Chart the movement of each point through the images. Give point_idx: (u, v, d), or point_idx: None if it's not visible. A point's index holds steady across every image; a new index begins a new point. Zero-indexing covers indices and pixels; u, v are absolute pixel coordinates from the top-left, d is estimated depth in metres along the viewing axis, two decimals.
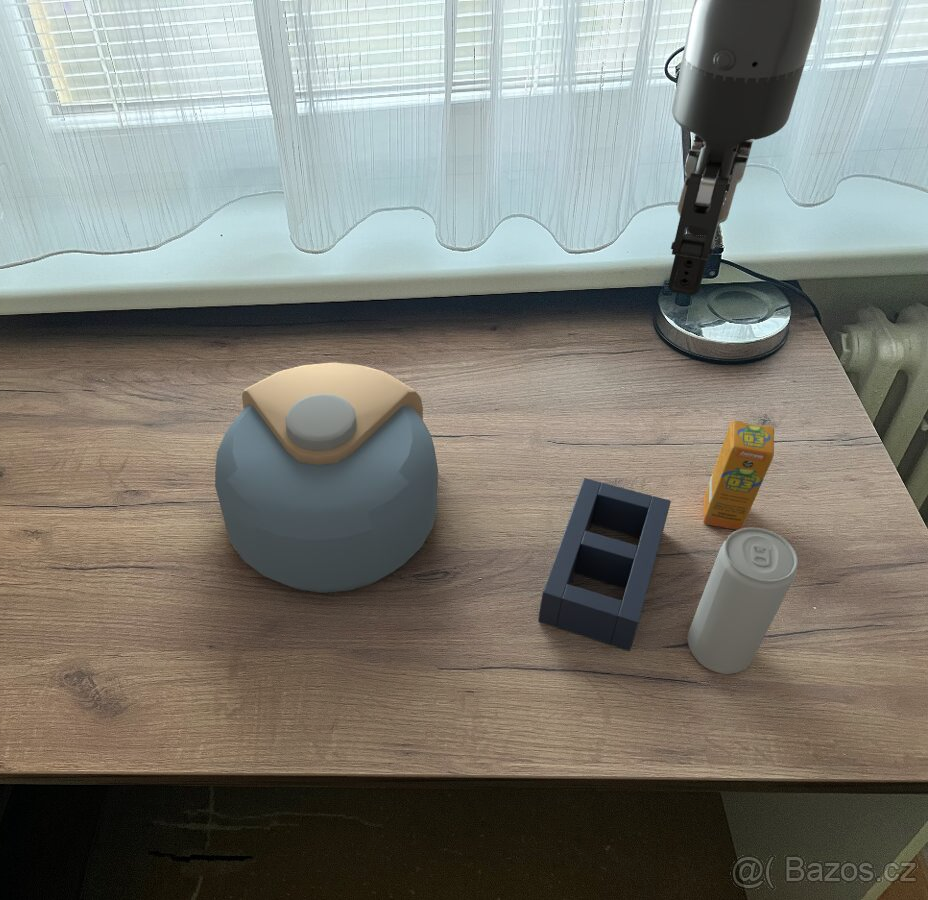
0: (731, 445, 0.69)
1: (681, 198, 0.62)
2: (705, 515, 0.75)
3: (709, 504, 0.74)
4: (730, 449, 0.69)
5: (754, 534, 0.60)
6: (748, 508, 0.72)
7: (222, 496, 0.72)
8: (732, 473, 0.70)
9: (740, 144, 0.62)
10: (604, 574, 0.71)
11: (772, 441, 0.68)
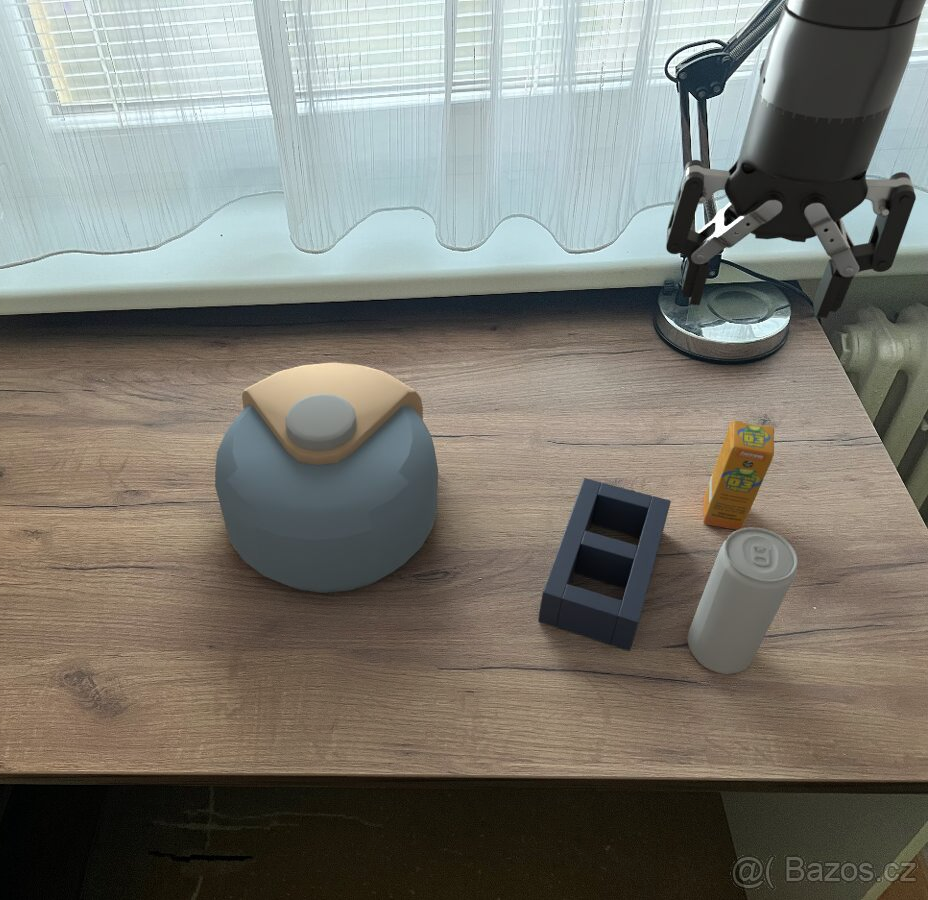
0: (731, 445, 0.69)
1: (727, 204, 0.61)
2: (705, 515, 0.75)
3: (709, 504, 0.74)
4: (730, 449, 0.69)
5: (754, 534, 0.60)
6: (748, 508, 0.72)
7: (222, 496, 0.72)
8: (732, 473, 0.70)
9: (808, 198, 0.57)
10: (604, 574, 0.71)
11: (772, 441, 0.68)
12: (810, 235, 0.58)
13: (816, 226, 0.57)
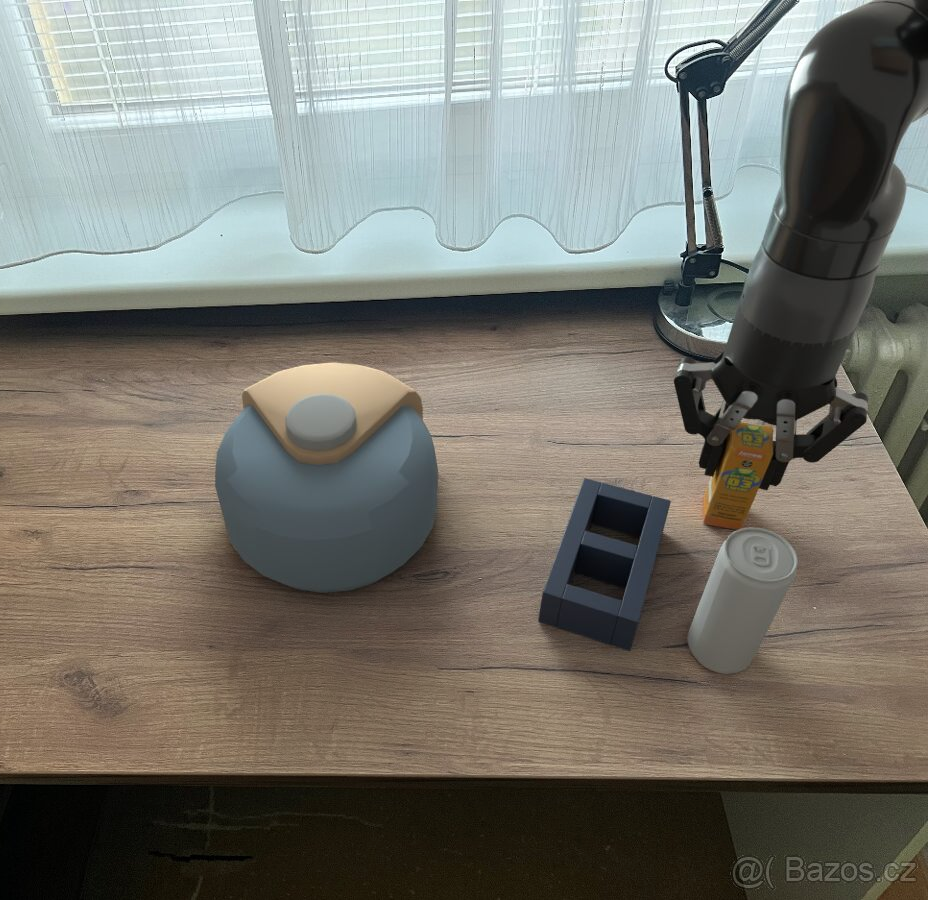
0: (730, 445, 0.69)
1: None
2: (705, 515, 0.75)
3: (709, 504, 0.74)
4: (729, 449, 0.69)
5: (754, 534, 0.60)
6: (748, 508, 0.72)
7: (222, 496, 0.72)
8: (731, 473, 0.70)
9: (781, 393, 0.64)
10: (604, 574, 0.71)
11: (771, 441, 0.68)
12: None
13: (780, 416, 0.65)
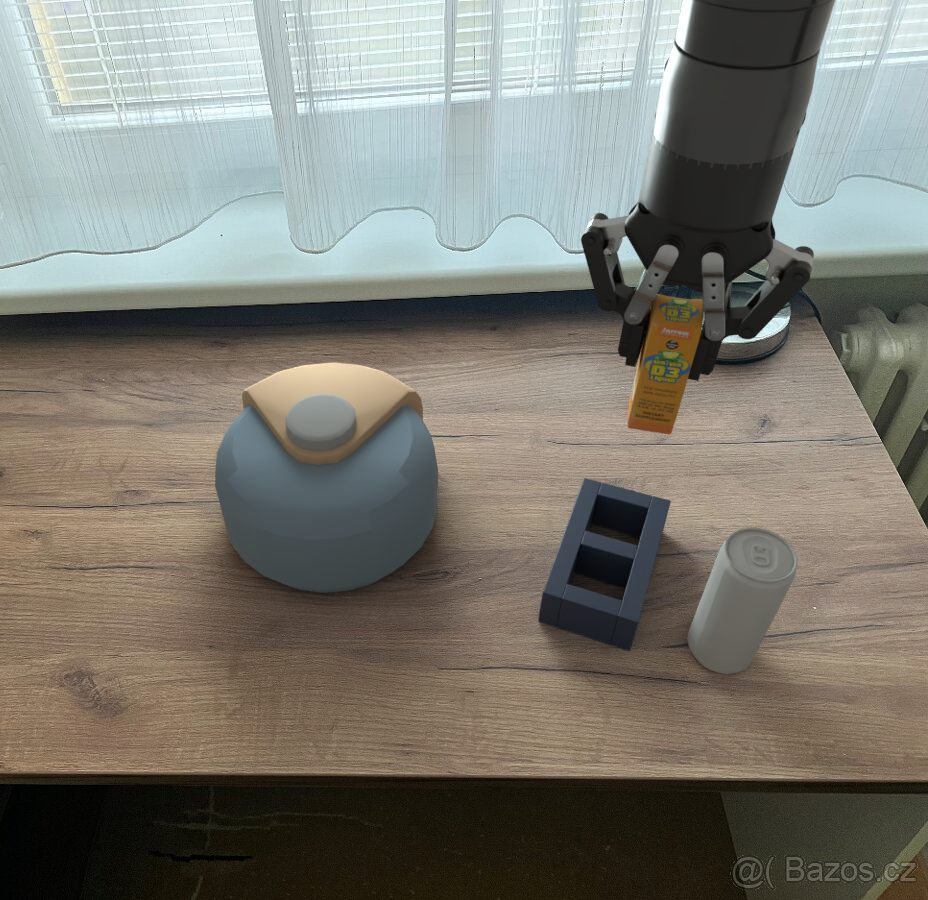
0: (651, 321, 0.57)
1: None
2: (629, 417, 0.63)
3: (632, 402, 0.62)
4: (650, 326, 0.57)
5: (754, 534, 0.60)
6: (677, 404, 0.61)
7: (222, 496, 0.72)
8: (654, 358, 0.58)
9: (707, 246, 0.52)
10: (604, 574, 0.71)
11: (700, 315, 0.56)
12: None
13: (706, 277, 0.53)
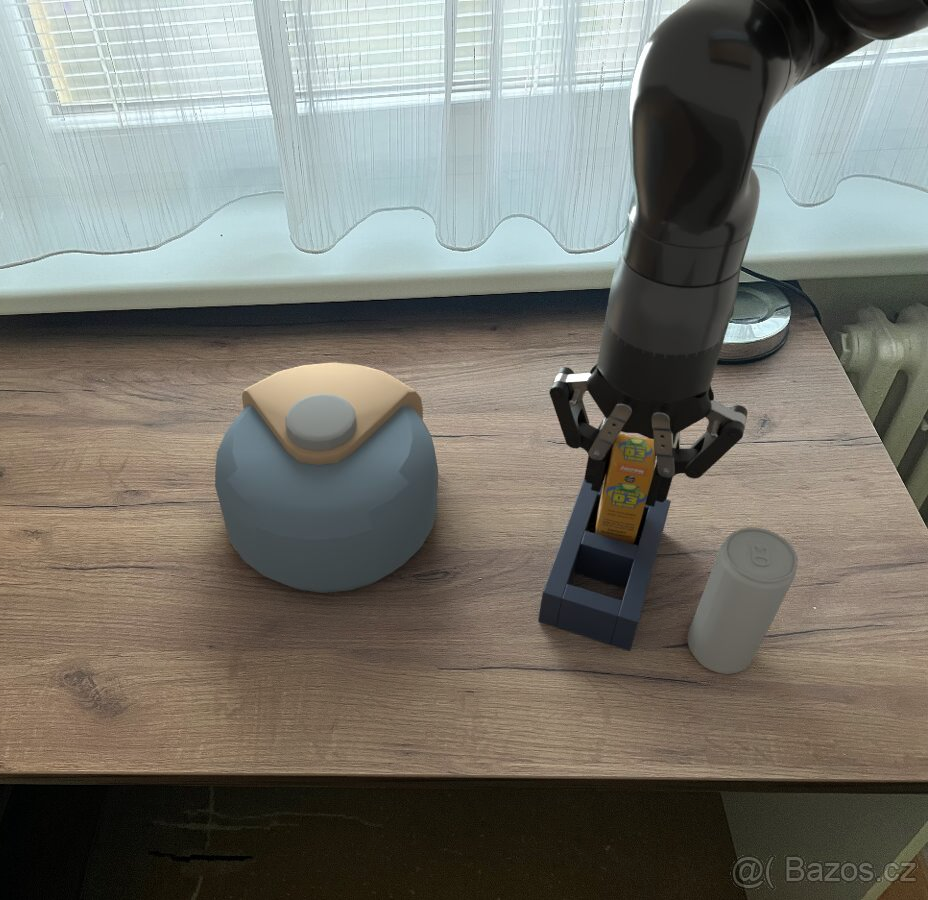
0: (611, 459, 0.66)
1: None
2: (595, 532, 0.72)
3: (598, 520, 0.71)
4: (611, 463, 0.66)
5: (754, 534, 0.60)
6: (636, 525, 0.69)
7: (222, 496, 0.72)
8: (615, 488, 0.67)
9: (656, 405, 0.61)
10: (604, 574, 0.71)
11: (653, 455, 0.65)
12: None
13: (656, 430, 0.61)
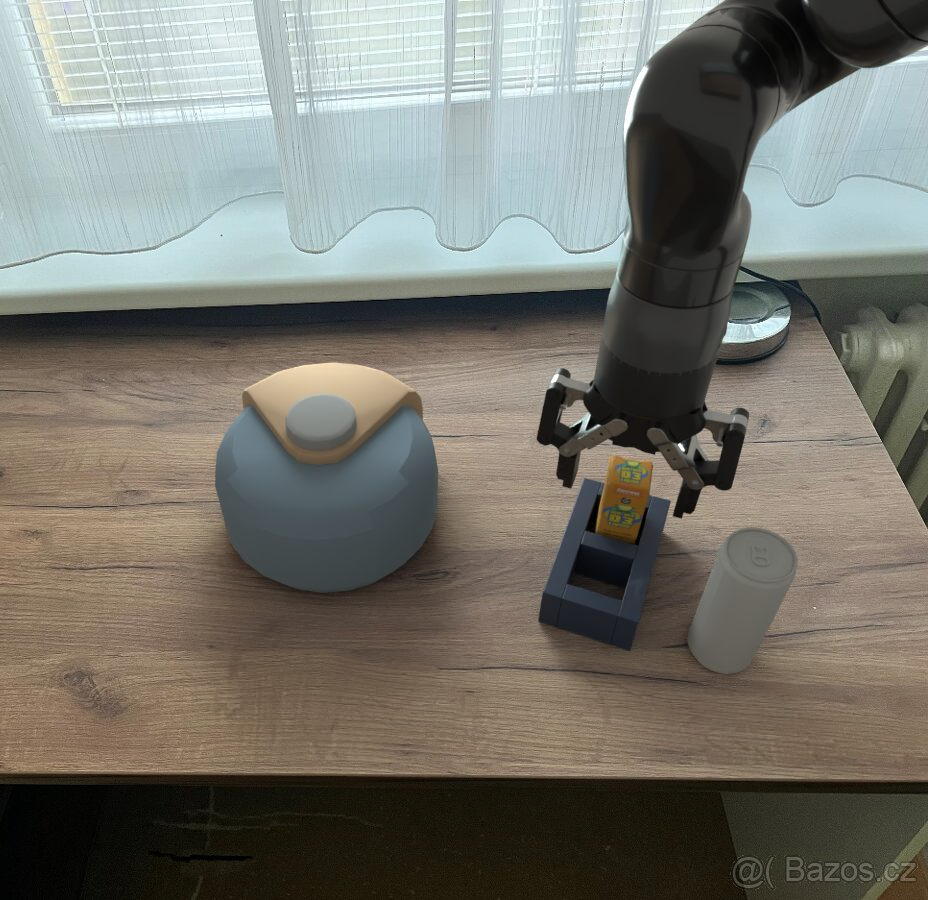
0: (608, 481, 0.67)
1: None
2: None
3: None
4: (607, 485, 0.67)
5: (754, 534, 0.60)
6: None
7: (222, 496, 0.72)
8: (611, 509, 0.69)
9: (651, 421, 0.62)
10: (604, 574, 0.71)
11: (649, 477, 0.67)
12: (658, 450, 0.64)
13: (659, 446, 0.62)
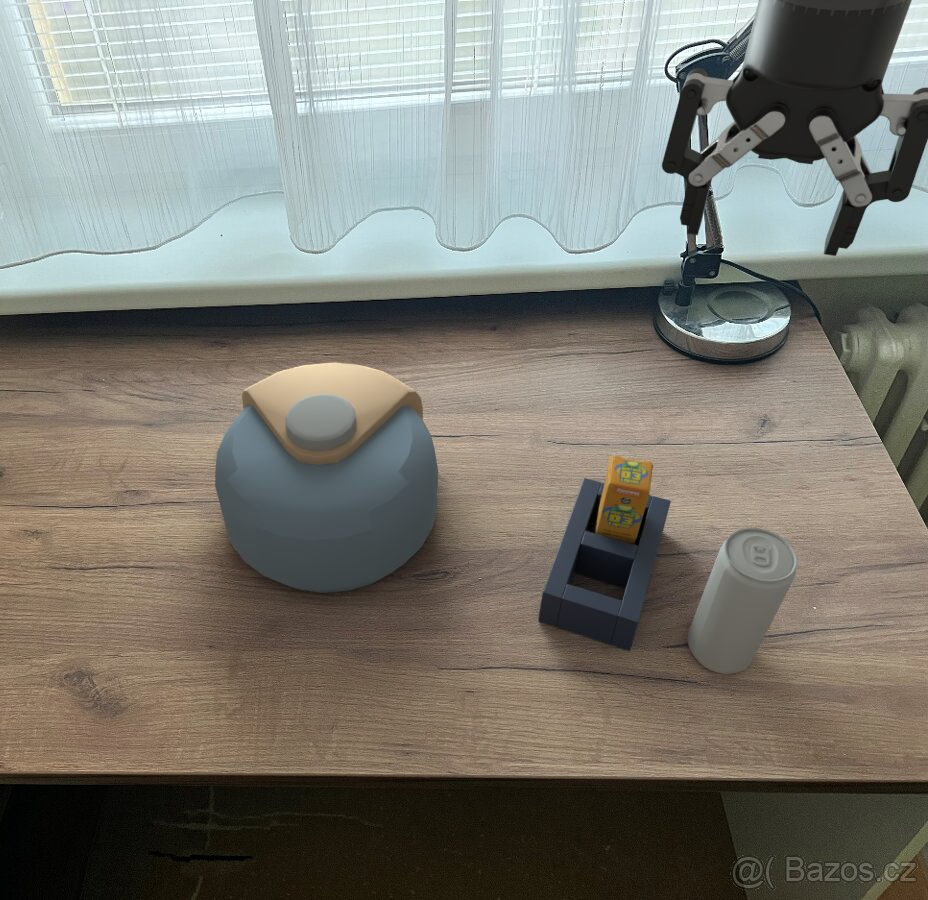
0: (608, 481, 0.67)
1: (733, 122, 0.56)
2: None
3: None
4: (607, 485, 0.67)
5: (754, 534, 0.60)
6: None
7: (222, 496, 0.72)
8: (611, 509, 0.69)
9: (815, 111, 0.51)
10: (604, 574, 0.71)
11: (649, 477, 0.67)
12: (818, 156, 0.53)
13: (823, 144, 0.52)
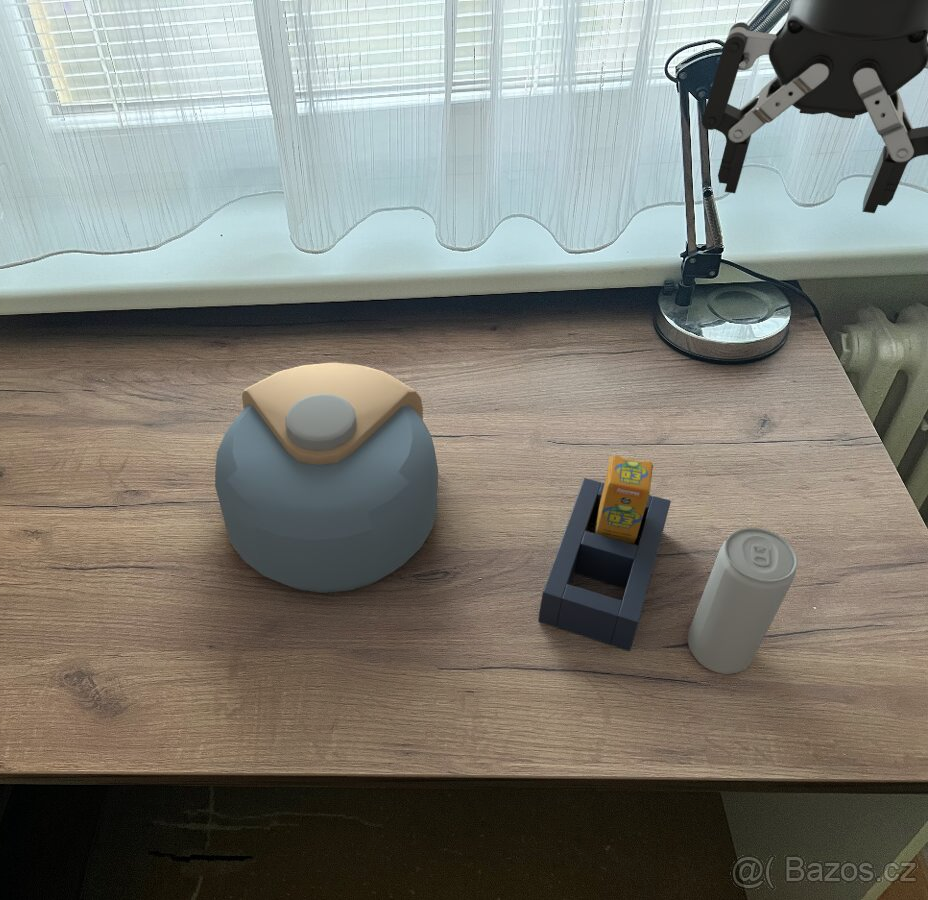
0: (608, 481, 0.67)
1: (775, 78, 0.56)
2: None
3: None
4: (607, 485, 0.67)
5: (754, 534, 0.60)
6: None
7: (222, 496, 0.72)
8: (611, 509, 0.69)
9: (859, 64, 0.52)
10: (604, 574, 0.71)
11: (649, 477, 0.67)
12: (860, 110, 0.53)
13: (866, 97, 0.52)
